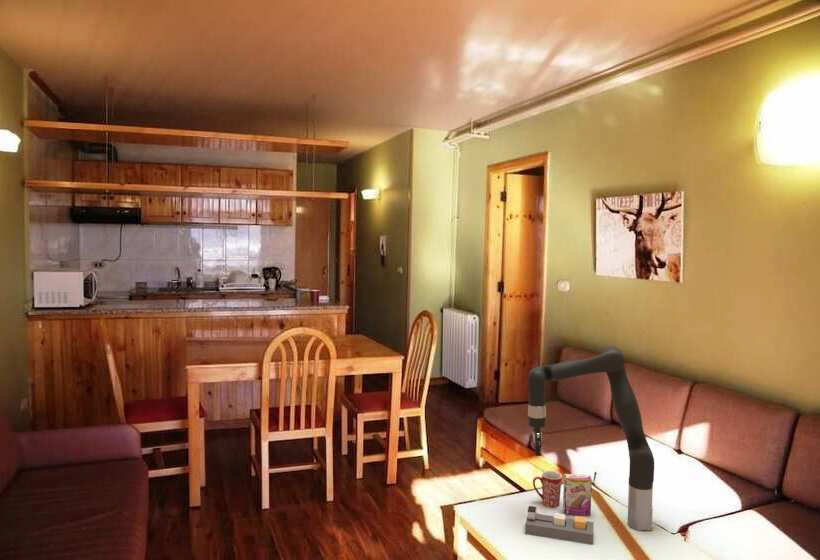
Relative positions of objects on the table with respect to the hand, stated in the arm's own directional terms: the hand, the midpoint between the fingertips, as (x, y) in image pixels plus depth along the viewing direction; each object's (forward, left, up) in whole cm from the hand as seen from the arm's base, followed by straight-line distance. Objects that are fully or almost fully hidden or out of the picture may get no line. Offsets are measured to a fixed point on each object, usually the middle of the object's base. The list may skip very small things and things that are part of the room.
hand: (537, 451), depth 246 cm
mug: (-4, -10, -28) cm, 30 cm away
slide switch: (0, +14, -25) cm, 28 cm away
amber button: (-19, +14, -23) cm, 33 cm away
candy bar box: (-17, -5, -28) cm, 33 cm away
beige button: (-11, +14, -23) cm, 29 cm away
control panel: (-11, +14, -27) cm, 32 cm away
